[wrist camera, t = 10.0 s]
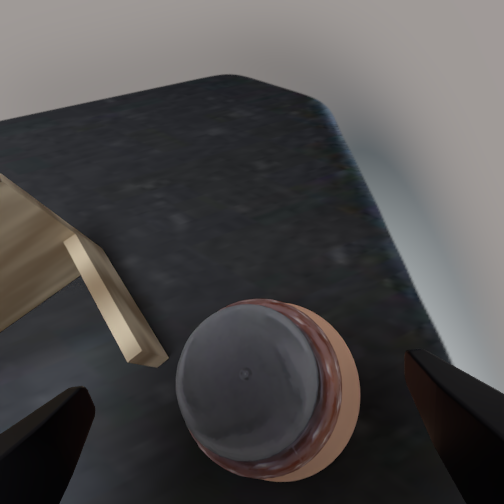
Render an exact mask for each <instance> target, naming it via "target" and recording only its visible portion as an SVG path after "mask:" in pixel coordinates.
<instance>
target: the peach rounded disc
mask: <svg viewBox="0 0 504 504" xmlns="http://www.w3.org/2000/svg"><path fill="white" fill-rule="evenodd" d="M286 304H288V303H286ZM288 305H291V306H293V307H295V308H297V309H298V310H300V311H302V312H303V313H305V314H306V315H308V316H309V317H310V318H311V319H312V320H313V321H314V322H315V323H316V324H317V325H318V326H319V327H320V328H321V329H322V331H323V332H324V333H325V334H326V336H327V338H328V339H329V341H330V343H331V345H332V347H333V349H334V351H335V353H336V356H337V359H338V362H339V366H340V371H341V376H342V402H341V408H340V412H339V416H338V420H337V423H336V425H335V428H334V430H333V432H332V434H331V436H330V438H329V440H328V441H327V443H326V444H325V445H324V447H323V448H322V449H321V451H320V452H319V453H318V454H317V455H316V456H315V457H314V458H313V459H312V460H311V461H309V462H308V463H307V464H306V465H304V466H303V467H301V468H300V469H298V470H296V471H294V472H292V473H289V474H286V475H284V476H280V477H275V478H267V479H262V480H267V481H273V482H290V481H296V480H301V479H304V478H307V477H309V476H312V475H314V474H316V473H318V472H319V471H321V470H323V469H324V468H325V467H327V466H328V465H329V464H331V463H332V462H333V461H334V460H335V459H336V458H337V457H338V456H339V454H340V453H341V452H342V451H343V449H344V448H345V446H346V445H347V443H348V441H349V439H350V437H351V435H352V433H353V431H354V428H355V425H356V422H357V419H358V414H359V409H360V382H359V377H358V371H357V368H356V365H355V362H354V359H353V357H352V355H351V352H350V350H349V348H348V347H347V345H346V343H345V342H344V340H343V339H342V337H341V336H340V335H339V333H338V332H337V331H336V330H335V329H334V328H333V327H332V326H331V325H330V324H329V323H328V322H327V321H325V320H324V319H323V318H322V317H320V316H319V315H317V314H315V313H314V312H312V311H310V310H308V309H305V308H303V307H300V306H297V305H294V304H288Z"/></svg>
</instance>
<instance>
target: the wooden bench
mask: <svg viewBox="0 0 504 504" xmlns="http://www.w3.org/2000/svg"><path fill="white" fill-rule="evenodd" d="M80 275H81V276H82V278H83V280H84V282H85V284H86V285H87V287H88V289H89V291H90V293H91V295H92V297H93V299H94V300H95V302H96V304H97V306H98V308H99V310H100V312H101V314H102V315H103V317H104V319H105V321H106V323H107V325H108V327H109V329H110V330H111V332H112V334H113V336H114V338H115V340H116V342H117V344H118V345H119V347H120V349H121V351H122V353H123V355H124V357H125V359H126V360H127V362H128V363H134V364H139V365H145V366H151V367H156V368H157V367H159V366H160V365H161V364H162V363H164V362H165V361H166V360H167V359H169V357H168V355H167V354H166V352H165V351H164V349H163V347H162V346H161V344H160V342H159V341H158V339H157V337H156V336H155V334H154V333H153V331H152V329H151V328H150V326H149V324H148V323H147V321H146V319H145V318H144V316H143V314H142V313H141V311H140V310H139V308H138V306H137V305H136V303H135V301H134V300H133V298H132V296H131V295H130V293H129V292H128V290H127V288H126V287H125V285H124V283H123V282H122V280H121V278H120V277H119V275H118V273H117V272H116V270H115V269H114V267H113V265H112V264H111V262H110V260H109V259H108V257H107V255H106V254H105V252H104V251H103V249H102V248H101V247H99V246H98V245H97V244H95V243H94V242H93V241H91V240H90V239H89V238H87V237H86V236H85V235H83V234H82V233H81V232H79V231H78V230H76V229H75V228H74V227H72V226H71V225H70V224H68V223H67V222H66V221H64V220H63V219H62V218H60V217H59V216H58V215H56V214H55V213H54V212H52V211H51V210H49V209H48V208H47V207H45V206H44V205H43V204H41V203H40V202H39V201H37V200H36V199H35V198H33V197H32V196H31V195H29V194H28V193H26V192H25V191H24V190H22V189H21V188H20V187H18V186H17V185H16V184H14V183H13V182H12V181H10V180H9V179H8V178H6V177H5V176H4V175H2V174H1V173H0V332H1V331H3V330H4V329H5V328H7V327H8V326H10V325H11V324H13V323H14V322H15V321H17V320H18V319H20V318H21V317H22V316H24V315H25V314H27V313H28V312H29V311H31V310H32V309H34V308H35V307H37V306H38V305H39V304H41V303H42V302H44V301H45V300H46V299H48V298H49V297H51V296H52V295H53V294H55V293H56V292H58V291H59V290H60V289H62V288H63V287H65V286H66V285H68V284H69V283H70V282H72V281H73V280H75V279H76V278H77V277H79V276H80Z"/></svg>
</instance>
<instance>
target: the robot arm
mask: <svg viewBox="0 0 504 504" xmlns="http://www.w3.org/2000/svg"><path fill="white" fill-rule="evenodd" d="M405 380H406V383H407V386H408V388H409V391H410V393H411V395H412V397H413V400H414V402H415V404H416V406H417V409H418V411H419V413H420V415H421V418H422V420H423V422H424V425H425V427H426V429H427V431H428V434H429V436H430V438H431V440H432V442H433V444H434V446H435V448H436V450H437V452H438V454H439V456H440V458H441V459H442V461H443V463H444V465H445V466H446V468H447V470H448V472H449V474H450V475H451V477H452V479H453V481H454V483H455V484H456V486H457V488H458V490H459V491H460V493H461V495H462V497H463V499H464V500H465V502H466V504H504V394H503V393H501V392H500V391H498V390H496V389H494V388H492V387H491V386H489V385H487V384H485V383H483V382H481V381H480V380H478V379H476V378H474V377H472V376H471V375H469V374H467V373H465V372H464V371H462V370H460V369H458V368H456V367H455V366H453V365H451V364H449V363H447V362H446V361H444V360H442V359H440V358H438V357H437V356H435V355H433V354H431V353H429V352H428V351H426V350H424V349H412V350H407V351H406V352H405ZM94 417H95V406H94V403H93V401H92V399H91V397H90V395H89V392H88V390H87V388H85V387H83V386H79V387H71V388H68V389H67V390H65V391H64V392H62V393H61V394H59V395H58V396H56V397H55V398H53V399H52V400H50V401H49V402H47V403H46V404H44V405H43V406H42V407H40V408H39V409H37V410H36V411H34V412H33V413H31V414H30V415H28V416H27V417H25V418H24V419H22V420H21V421H19V422H18V423H16V424H15V425H13V426H12V427H10V428H9V429H7V430H6V431H4V432H3V433H1V434H0V504H59V503H60V501H61V499H62V497H63V495H64V492H65V490H66V488H67V486H68V484H69V482H70V479H71V477H72V475H73V472H74V470H75V467H76V465H77V462H78V460H79V457H80V454H81V452H82V449H83V446H84V443H85V441H86V438H87V435H88V433H89V430H90V427H91V425H92V422H93V419H94Z"/></svg>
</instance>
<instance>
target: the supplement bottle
mask: <svg viewBox="0 0 504 504" xmlns="http://www.w3.org/2000/svg"><path fill="white" fill-rule="evenodd" d="M176 396H177V400H178V405H179V408H180V411H181V414H182V416H183V419H184V420H185V423H186V426H187V428H188V429H189V431H190V433H191V435H192V437H193V438H194V439H195V441H196V442H197V444H198V446H199V448H200V449H201V450H202V451H203V452H204V453H205V454H206V455H207V456H208V457H209V458H210V459H211V460H213V461H214V462H215V463H217V464H218V465H219V466H221V467H222V468H224V469H226V470H227V471H229V472H231V473H233V474H237V475H239V476H243V477H249V478H254V479H267V478H275V477H280V476H284V475H286V474H289V473H292V472H294V471H296V470H298V469H300V468H301V467H303V466H304V465H306V464H307V463H308V462H309V461H311V460H312V459H313V458H314V457H315V456H316V455H317V454H318V453H319V452H320V451H321V449H322V448H323V447H324V445H325V444H326V443H327V441H328V440H329V438H330V436H331V434H332V432H333V430H334V428H335V425H336V423H337V420H338V416H339V412H340V408H341V402H342V376H341V371H340V366H339V362H338V359H337V356H336V353H335V351H334V349H333V347H332V345H331V343H330V341H329V339H328V338H327V336H326V334H325V333H324V332H323V331H322V329H321V328H320V327H319V326H318V325H317V324H316V323H315V322H314V321H313V320H312V319H311V318H310V317H309V316H308V315H306V314H305V313H303V312H302V311H300V310H298V309H297V308H295V307H293V306H291V305H288V304H286V303H283V302H280V301H276V300H272V299H248V300H243V301H238V302H236V303H233V304H230V305H227V306H226V307H224V308H222V309H221V310H219V311H218V312H216V313H214V314H212V315H211V316H209V317H208V318H207V319H205V320H204V321H203V322H202V323H201V324H200V325H199V326H198V327H197V328H196V329H195V330H194V331H193V333H192V334H191V335H190V337H189V339H188V340H187V342H186V343H185V346H184V349H183V351H182V353H181V356H180V359H179V362H178V366H177V372H176Z"/></svg>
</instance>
